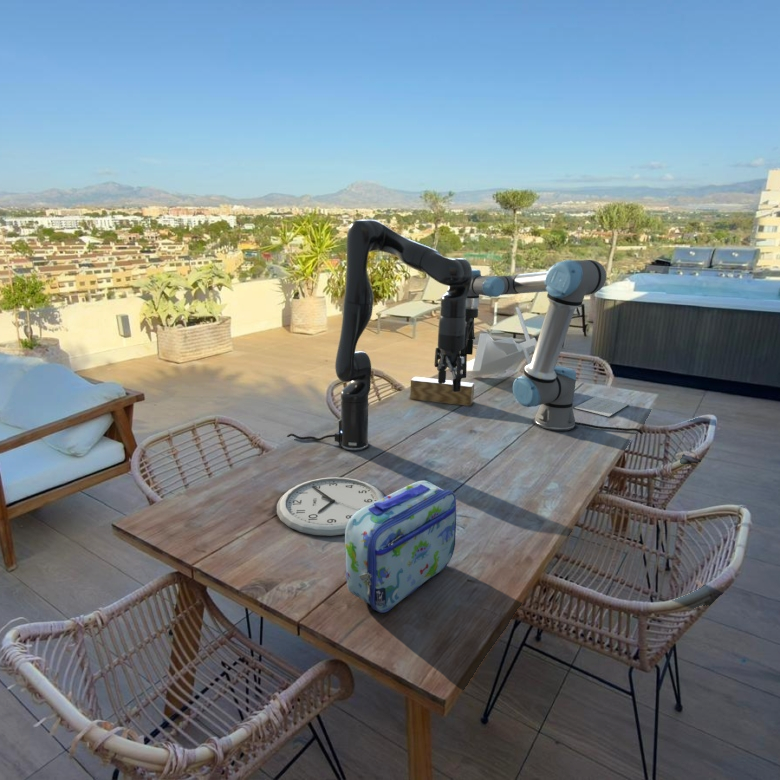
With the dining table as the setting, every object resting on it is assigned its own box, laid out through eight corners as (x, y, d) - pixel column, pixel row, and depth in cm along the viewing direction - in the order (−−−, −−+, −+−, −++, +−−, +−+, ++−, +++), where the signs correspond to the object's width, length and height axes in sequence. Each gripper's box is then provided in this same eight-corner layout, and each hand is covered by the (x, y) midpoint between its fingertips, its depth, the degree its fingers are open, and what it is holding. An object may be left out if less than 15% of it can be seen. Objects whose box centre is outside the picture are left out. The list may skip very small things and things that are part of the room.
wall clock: (392, 527, 129) (268, 531, 127) (391, 533, 130) (269, 537, 127) (383, 473, 158) (282, 475, 155) (383, 478, 158) (282, 480, 156)
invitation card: (608, 416, 214) (573, 407, 224) (608, 416, 214) (573, 408, 224) (628, 404, 229) (594, 396, 238) (628, 405, 229) (594, 397, 238)
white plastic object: (486, 418, 267) (465, 395, 242) (467, 346, 289) (447, 318, 264) (556, 394, 255) (543, 367, 230) (531, 321, 277) (516, 289, 252)
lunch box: (374, 626, 100) (375, 530, 93) (338, 598, 107) (337, 508, 101) (459, 568, 117) (465, 484, 111) (424, 547, 124) (427, 467, 118)
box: (473, 401, 230) (474, 382, 227) (470, 406, 224) (471, 386, 222) (413, 395, 238) (414, 376, 235) (410, 398, 232) (410, 380, 230)
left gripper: (428, 328, 151) (426, 381, 156) (452, 337, 139) (449, 395, 144) (450, 326, 154) (448, 379, 159) (476, 335, 142) (473, 392, 147)
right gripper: (465, 303, 228) (463, 350, 235) (454, 311, 206) (451, 363, 212) (483, 304, 226) (479, 352, 232) (472, 312, 203) (469, 365, 210)
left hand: (448, 387), depth 151 cm, fingers open, 8 cm apart
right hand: (466, 357), depth 222 cm, fingers open, 13 cm apart
